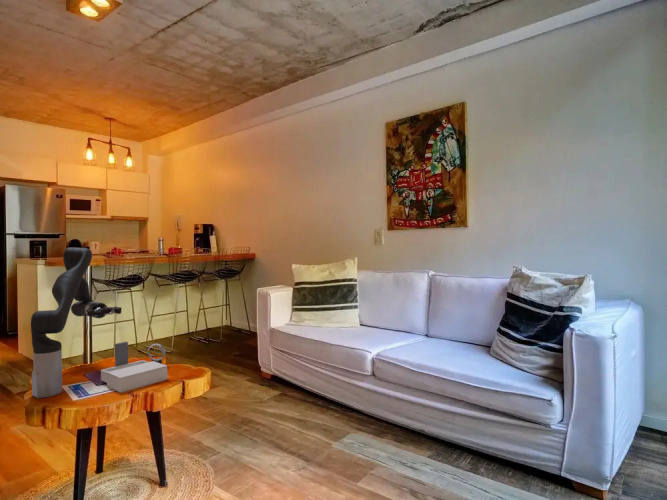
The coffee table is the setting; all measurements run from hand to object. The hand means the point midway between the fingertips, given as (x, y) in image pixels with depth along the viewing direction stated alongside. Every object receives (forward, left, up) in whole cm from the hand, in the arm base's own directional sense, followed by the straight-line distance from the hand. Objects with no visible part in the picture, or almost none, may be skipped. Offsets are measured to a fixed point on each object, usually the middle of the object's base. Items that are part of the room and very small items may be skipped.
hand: (110, 312), depth 190 cm
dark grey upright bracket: (0, -17, -27) cm, 31 cm away
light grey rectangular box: (0, -26, -28) cm, 38 cm away
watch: (+17, -10, -28) cm, 34 cm away
